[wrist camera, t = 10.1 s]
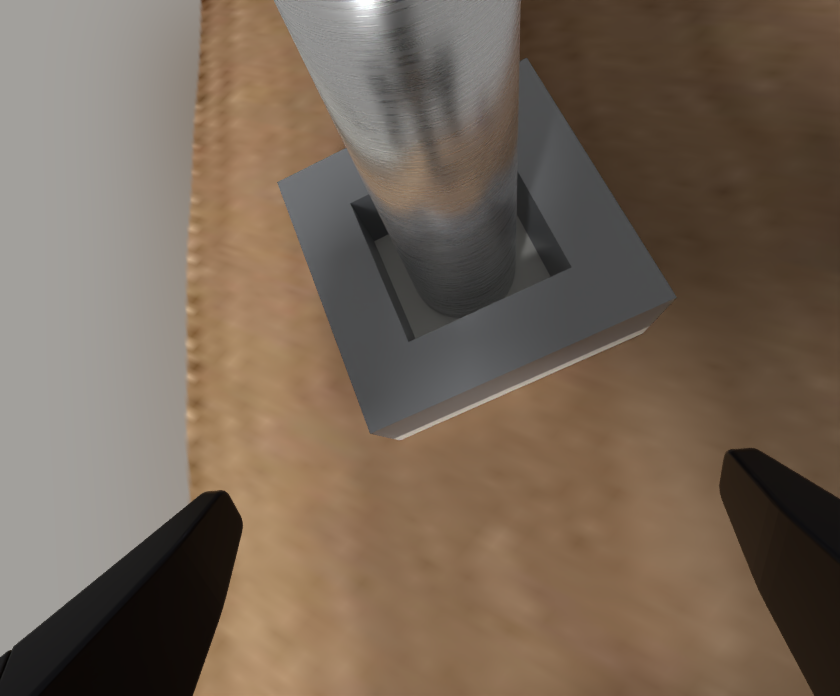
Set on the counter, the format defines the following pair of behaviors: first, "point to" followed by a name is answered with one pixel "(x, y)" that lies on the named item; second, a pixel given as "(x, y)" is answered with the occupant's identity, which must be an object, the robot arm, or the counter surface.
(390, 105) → the steel pin
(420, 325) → the socket block
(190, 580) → the robot arm
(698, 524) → the counter surface
